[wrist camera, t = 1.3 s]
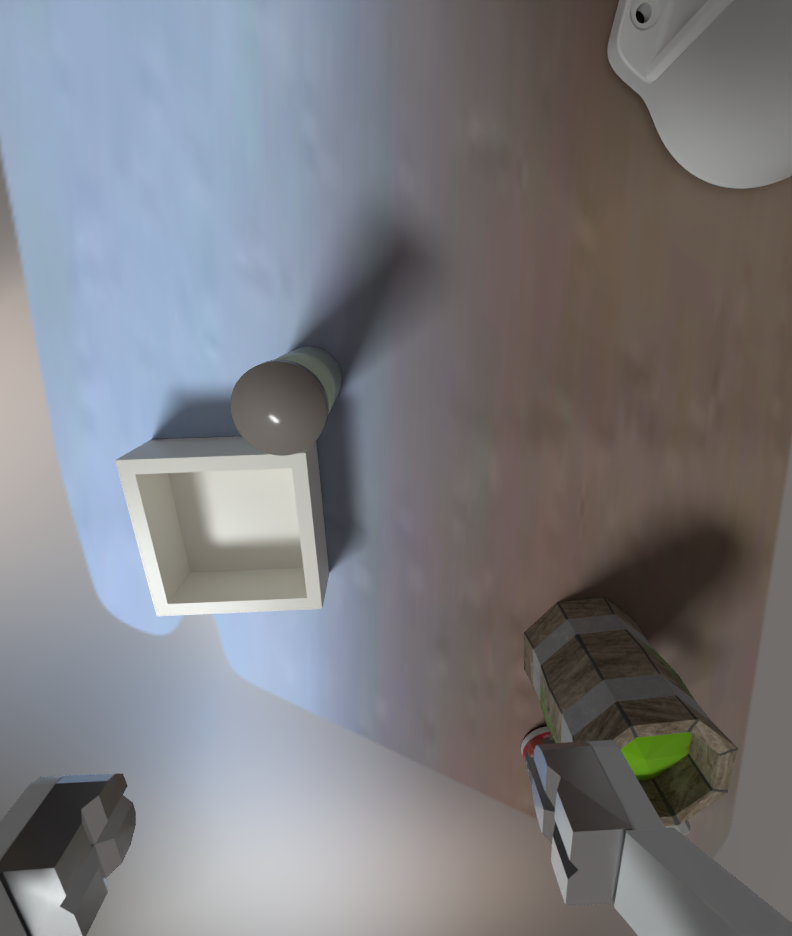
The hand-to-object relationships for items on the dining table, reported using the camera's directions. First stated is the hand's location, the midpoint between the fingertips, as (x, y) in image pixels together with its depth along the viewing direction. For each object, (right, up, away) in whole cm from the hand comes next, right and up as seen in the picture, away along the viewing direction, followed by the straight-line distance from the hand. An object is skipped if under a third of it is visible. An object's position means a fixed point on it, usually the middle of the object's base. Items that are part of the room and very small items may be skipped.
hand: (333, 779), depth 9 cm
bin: (-10, +3, +26) cm, 28 cm away
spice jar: (-5, +13, +22) cm, 26 cm away
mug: (+19, -12, +32) cm, 39 cm away
